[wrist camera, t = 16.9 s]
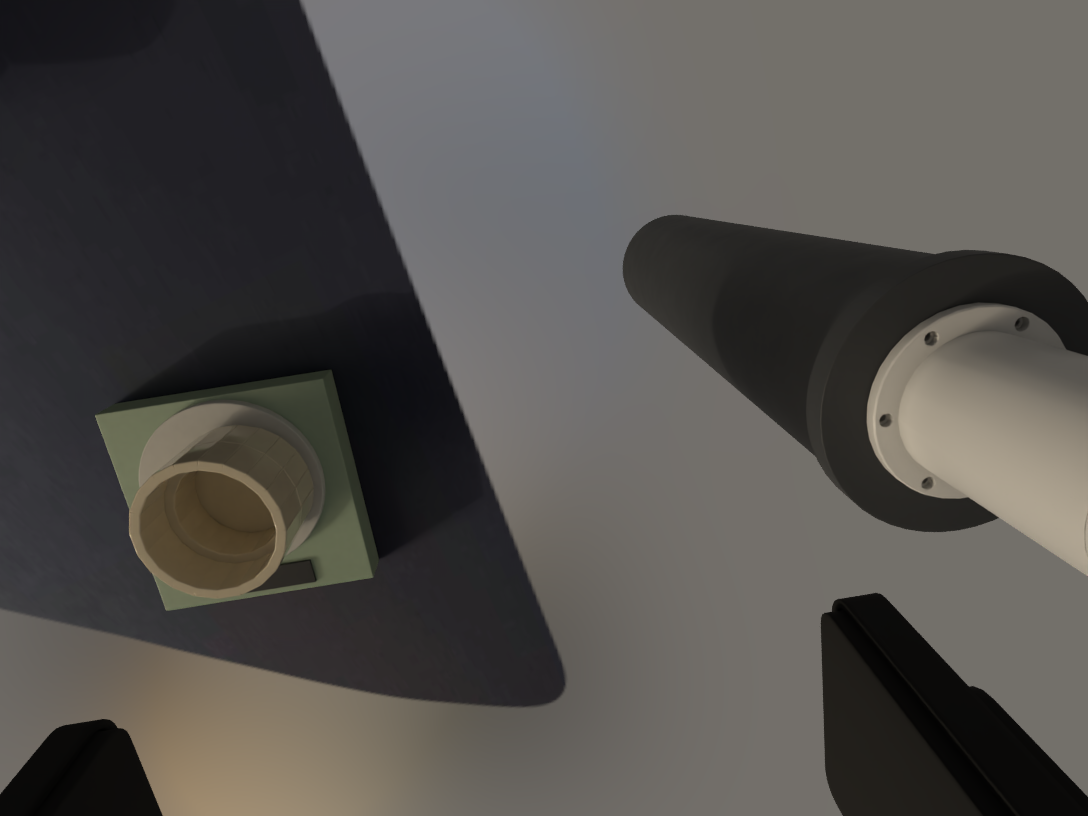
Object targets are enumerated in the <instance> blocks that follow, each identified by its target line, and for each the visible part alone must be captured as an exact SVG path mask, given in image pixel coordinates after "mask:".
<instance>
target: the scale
mask: <svg viewBox="0 0 1088 816" xmlns="http://www.w3.org/2000/svg"><path fill="white" fill-rule="evenodd" d="M95 417H96V419H97V422H98V425H99V428H100V430H101V433H102V436H103V438H104V441H105V444H106V447H107V449H108V452H109V455H110V458H111V460H112V463H113V466H114V469H115V471H116V474H117V477H118V479H119V482H120V485H121V488H122V490H123V493H124V496H125V499H126V501H127V504H128V507H129V510H130V508H131V505H132V503H133V500H134V498H135V495H136V492H137V491H138V489H139V488H140V487H141V486H142V485H143V484H144V483H145V482H146V481H147V480H148V479H149V478H150V477H151V475H153V474H154V473H155V472H156V471H158V470H159V469H160V468H161V467H162V466H164V465H165V464H166V463H167V462H168V461H170V460H171V459H172V458H173V457H175V456H176V455H177V454H178V453H179V452H181V451H182V450H183V449H184V448H186V447H187V446H188V445H189V444H190V443H192V442H193V441H194V440H195V439H196V438H198V437H199V436H201V435H203V434H205V433H207V432H209V431H211V430H213V429H215V428H219V427H225V426H231V425H243V426H250V427H258V428H262V429H264V430H267V431H269V432H271V433H274V434H276V435H278V436H280V437H281V438H283V439H284V440H285V441H286V442H287V443H289V444H290V445H291V446H292V447H294V448H295V449H296V450H297V451H298V453H299V454H300V456H301V457H302V459H303V460H304V462H305V463H306V465H307V466H308V469H309V471H310V475H311V479H312V482H313V487H314V494H313V505H312V508H311V511H310V513H309V515H308V517H307V519H306V521H305V523H304V525H303V527H302V528H301V530H300V532H299V533H298V535H297V537H296V538H295V540H294V542H293V543H292V545H291V547H290V549H289V550H288V552H287V554H286V556H285V557H284V559H283V561H282V562H281V564H280V566H279V567H278V569H277V570H276V572H275V573H274V574H273V575H272V576H271V577H270V578H269V579H268V580H267V581H266V582H265V583H264V584H262V585H261V586H259V587H257V588H255V589H253V590H251V591H249V592H247V593H245V594H243V595H239V596H233V597H227V598H221V599H219V598H218V599H216V598H206V597H197V596H192V595H190V594H187V593H184V592H182V591H179V590H177V589H174V588H172V587H170V586H169V585H167V584H166V583H165V582H163V581H162V580H160V579H159V578H158V577H156V576H155V575H154V574H153V575H154V578H155V581H156V583H157V586H158V589H159V591H160V594H161V597H162V600H163V602H164V605H165V608H166V610H167V611H169V610H175V609H181V608H187V607H193V606H200V605H206V604H212V603H218V602H224V601H230V600H237V599H243V598H249V597H255V596H261V595H268V594H274V593H280V592H286V591H292V590H299V589H305V588H311V587H317V586H323V585H329V584H336V583H342V582H348V581H354V580H360V579H367V578H373V577H374V574H375V571H376V568H377V565H378V562H379V558H378V554H377V550H376V546H375V542H374V538H373V534H372V530H371V526H370V522H369V518H368V514H367V510H366V506H365V502H364V498H363V494H362V490H361V486H360V482H359V478H358V474H357V470H356V466H355V462H354V458H353V454H352V450H351V446H350V442H349V438H348V434H347V430H346V426H345V422H344V418H343V414H342V410H341V406H340V402H339V398H338V394H337V390H336V386H335V382H334V378H333V374H332V370H325V371H318V372H312V373H306V374H299V375H293V376H287V377H280V378H274V379H268V380H262V381H255V382H249V383H243V384H236V385H230V386H224V387H217V388H211V389H205V390H198V391H192V392H186V393H179V394H173V395H167V396H161V397H154V398H148V399H142V400H135V401H129V402H123V403H116V404H114V405H112V406H110V407H108V408H106V409H105V410H103V411H101V412H99V413H98V414H96V415H95Z"/></svg>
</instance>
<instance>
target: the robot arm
mask: <svg viewBox="0 0 1088 816" xmlns="http://www.w3.org/2000/svg"><path fill="white" fill-rule="evenodd" d="M925 336H926V337H925ZM881 416H882V417H881ZM867 428H868V434H869V440H870V442H871V445H872V447H873V450H874V452H875V455H876V456H877V458H878V459H879V461H880V462H881V464H882V465H883V466H884V468H885V469H886V470H887V471H888V472H889V473H891V474H892V475H893V476H894V477H895V478H896V479H897V480H899V481H900V482H902V483H903V484H905V485H906V486H908V487H909V488H911V489H913V490H915V491H917V492H919V493H921V494H924V495H929V496H933V497H938V498H956V499H960V498H966V497H969V498H970V499H972V500H973V501H975V502H976V503H978V504H979V505H981V506H982V507H984V508H985V509H987V510H988V511H990V512H991V513H993V514H994V515H996V516H997V517H999V518H1001V519H1002V520H1004V521H1005V522H1007V523H1008V524H1010V525H1011V526H1013V527H1014V528H1016V529H1017V530H1019V531H1020V532H1022V533H1023V534H1025V535H1026V536H1028V537H1029V538H1031V539H1032V540H1034V541H1035V542H1037V543H1038V544H1040V545H1041V546H1043V547H1044V548H1046V549H1047V550H1049V551H1051V552H1052V553H1053V554H1055V555H1056V556H1058V557H1059V558H1061V559H1062V560H1064V561H1065V562H1067V563H1068V564H1070V565H1071V566H1073V567H1074V568H1076V569H1077V570H1079V571H1080V572H1082V573H1083V574H1085V575H1086V576H1088V356H1086V355H1083V354H1079V353H1076V352H1072V351H1069V350H1066V348H1065V347H1064V345H1063V343H1062V341H1061V339H1060V338H1059V336H1058V335H1057V333H1056V332H1055V331H1054V330H1053V329H1052V328H1051V327H1050V326H1049V325H1048V324H1047V323H1046V322H1045V321H1043V320H1042V319H1040V318H1039V317H1037V316H1036V315H1034V314H1033V313H1030V312H1027V311H1025V310H1022V309H1019V308H1017V307H1013V306H1008V305H1003V304H999V303H979V302H978V303H972V304H965V305H959V306H956V307H953V308H950V309H947V310H945V311H942V312H939V313H937V314H935V315H934V316H932V317H930V318H928V319H926V320H925V321H923V322H921V323H920V324H919V325H917V326H916V327H915V328H913V329H912V330H911V331H910V332H908V333H907V334H906V335H905V336H904V337H903V338H902V339H901V340H900V341H899V342H898V343H897V344H896V346H895V347H894V348H893V349H892V350H891V351H890V353H889V354H888V356H887V357H886V359H885V360H884V362H883V363H882V365H881V366H880V368H879V370H878V373H877V375H876V377H875V379H874V382H873V384H872V387H871V391H870V395H869V399H868V404H867ZM821 643H822V672H823V673H822V676H823V709H824V740H825V770H826V776H827V781H828V784H829V788H830V791H831V793H832V796H833V798H834V800H835V802H836V804H837V806H838V808H839V809H840V811H841V813H842V815H843V816H1088V797H1087V796H1086V795H1085V794H1084V793H1083V791H1082V790H1081V789H1079V787H1078V786H1077V785H1076V784H1075V783H1074V782H1073V781H1072V780H1071V779H1070V778H1069V777H1068V776H1067V775H1066V774H1065V773H1064V772H1063V771H1062V770H1061V769H1060V768H1059V767H1058V765H1057V764H1056V763H1055V762H1054V761H1053V760H1052V759H1051V758H1050V757H1049V756H1048V755H1047V754H1046V753H1045V752H1044V751H1043V750H1042V749H1041V748H1040V747H1039V746H1038V745H1037V744H1036V743H1035V742H1034V741H1033V740H1032V738H1031V737H1030V736H1029V735H1028V734H1026V732H1025V731H1024V730H1023V729H1022V728H1021V727H1020V726H1019V725H1018V724H1017V723H1016V722H1015V721H1014V720H1013V719H1012V718H1011V717H1010V716H1009V715H1008V714H1007V712H1006V711H1005V710H1004V709H1003V708H1002V707H1001V706H1000V705H999V704H998V703H997V702H996V701H995V700H994V699H993V698H992V697H991V696H989V695H988V694H987V693H986V692H985V691H983V690H982V689H979V688H976V687H974V686H971V687H969V686H968V685H967V684H966V683H965V682H964V681H963V680H962V679H961V678H960V677H959V676H958V675H957V674H956V672H954V670H953V669H952V668H951V667H950V666H949V665H948V664H947V663H946V662H945V661H944V660H943V659H942V658H941V657H940V655H939V654H938V653H937V652H936V651H935V650H934V649H933V648H932V647H931V646H930V645H929V644H928V643H927V641H926V640H925V639H924V638H923V637H922V636H921V635H920V634H919V633H918V632H917V631H916V630H915V629H914V628H913V627H912V625H911V624H910V623H909V622H908V621H907V620H906V619H905V618H904V617H903V616H902V615H901V614H900V613H899V612H898V611H897V609H896V608H895V607H894V606H893V605H892V604H891V603H890V602H889V601H888V600H887V599H886V598H885V597H884V596H883V595H881V594H878V593H873V594H867V595H861V596H855V597H849V598H844V599H837V600H836V601H834V603H833V606H832V612H828V613H824V614H822V617H821ZM0 816H162V813H161V811H160V808H159V806H158V803H157V801H156V798H155V796H154V794H153V791H152V789H151V787H150V784H149V781H148V779H147V777H146V774H145V772H144V769H143V767H142V764H141V762H140V760H139V757H138V755H137V752H136V750H135V747H134V745H133V743H132V740H131V738H130V736H129V734H128V732H127V731H126V730H124V729H121V728H117V726H116V725H115V723H113V722H112V721H111V720H107V719H101V720H95V721H89V722H82V723H77V724H70V725H64V726H61V727H59V728H56V729H55V730H54V731H53V732H52V733H51V734H50V735H49V736H48V737H47V738H46V740H45V741H44V742H43V743H42V745H41V746H40V747H39V748H38V749H37V750H36V752H35V753H34V754H33V755H32V756H31V758H30V759H29V760H28V761H27V763H26V764H25V765H24V766H23V767H22V769H21V770H20V771H19V772H18V773H17V775H16V776H15V777H14V778H13V779H12V781H11V782H10V783H9V784H8V786H7V787H6V788H5V789H4V790H3V792H2V793H1V794H0Z"/></svg>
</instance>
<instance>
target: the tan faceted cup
mask: <svg viewBox="0 0 1088 816" xmlns="http://www.w3.org/2000/svg"><path fill="white" fill-rule="evenodd" d="M313 494H314V487H313V482H312V479H311V475H310V471H309V469H308V466H307V465H306V463H305V462H304V460H303V459H302V457H301V456H300V454H299V453H298V451H297V450H296V449H295V448H294V447H292V446H291V445H290V444H289V443H287V442H286V441H285V440H284V439H283V438H281V437H280V436H278V435H276V434H274V433H271V432H269V431H267V430H264V429H262V428H258V427H250V426H243V425H231V426H225V427H219V428H215V429H213V430H211V431H209V432H207V433H205V434H203V435H201V436H199V437H198V438H196V439H195V440H194V441H193V442H192V443H190V444H189V445H188V446H187V447H186V448H184V449H183V450H182V451H181V452H179V453H178V454H177V455H176V456H175V457H173V458H172V459H171V460H170V461H168V462H167V463H166V464H165V465H164V466H162V467H161V468H160V469H159V470H158V471H156V472H155V473H154V474H153V475H151V477H150V478H149V479H148V480H147V481H146V482H145V483H144V484H143V485H142V486H141V487H140V488H139V489H138V491H137V492H136V495H135V498H134V500H133V503H132V505H131V508H130V512H129V533H130V537H131V539H132V542H133V545H134V548H135V550H136V553H137V554H138V557H139V558H140V559H141V560H142V562H143V563H144V564H145V565H146V567H147V568H148V569H149V571H150V572H151V573H153V574H154V575H155V576H156V577H158V578H159V579H160V580H162V581H163V582H165V583H166V584H167V585H169V586H170V587H172V588H174V589H177V590H179V591H182V592H184V593H187V594H190V595H192V596H197V597H206V598H216V599H218V598H219V599H221V598H227V597H233V596H239V595H243V594H245V593H247V592H249V591H251V590H253V589H255V588H257V587H259V586H261V585H262V584H264V583H265V582H266V581H267V580H268V579H269V578H270V577H271V576H272V575H273V574H274V573H275V572H276V570H277V569H278V567H279V566H280V564H281V562H282V561H283V559H284V557H285V556H286V554H287V552H288V550H289V549H290V547H291V545H292V543H293V542H294V540H295V538H296V537H297V535H298V533H299V532H300V530H301V528H302V527H303V525H304V523H305V521H306V519H307V517H308V515H309V513H310V511H311V508H312V505H313Z"/></svg>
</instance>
